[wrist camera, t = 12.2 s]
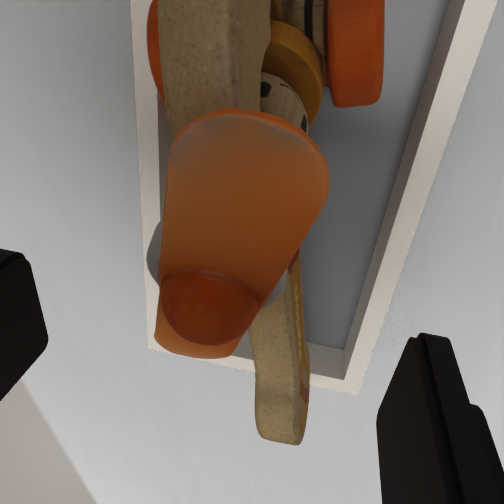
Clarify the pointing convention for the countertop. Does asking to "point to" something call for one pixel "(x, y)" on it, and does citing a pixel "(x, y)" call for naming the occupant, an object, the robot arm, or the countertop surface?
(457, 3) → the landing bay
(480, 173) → the countertop surface
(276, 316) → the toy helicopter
